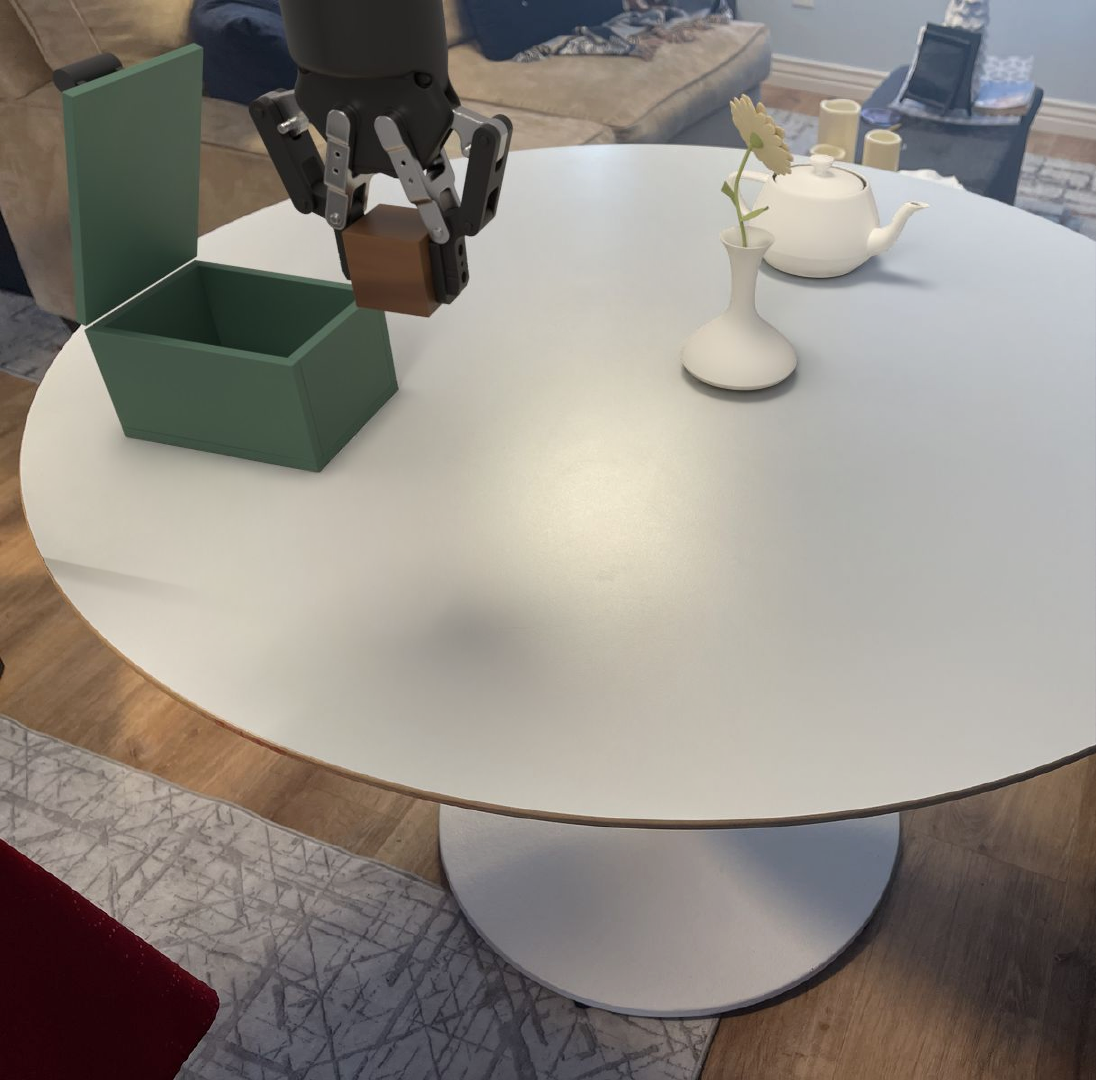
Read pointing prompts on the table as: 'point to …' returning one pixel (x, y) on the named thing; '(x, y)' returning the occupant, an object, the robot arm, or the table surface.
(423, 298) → the block
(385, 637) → the table surface
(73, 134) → the lid
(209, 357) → the box
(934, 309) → the table surface
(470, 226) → the robot arm
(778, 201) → the teapot
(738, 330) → the flower in vase
